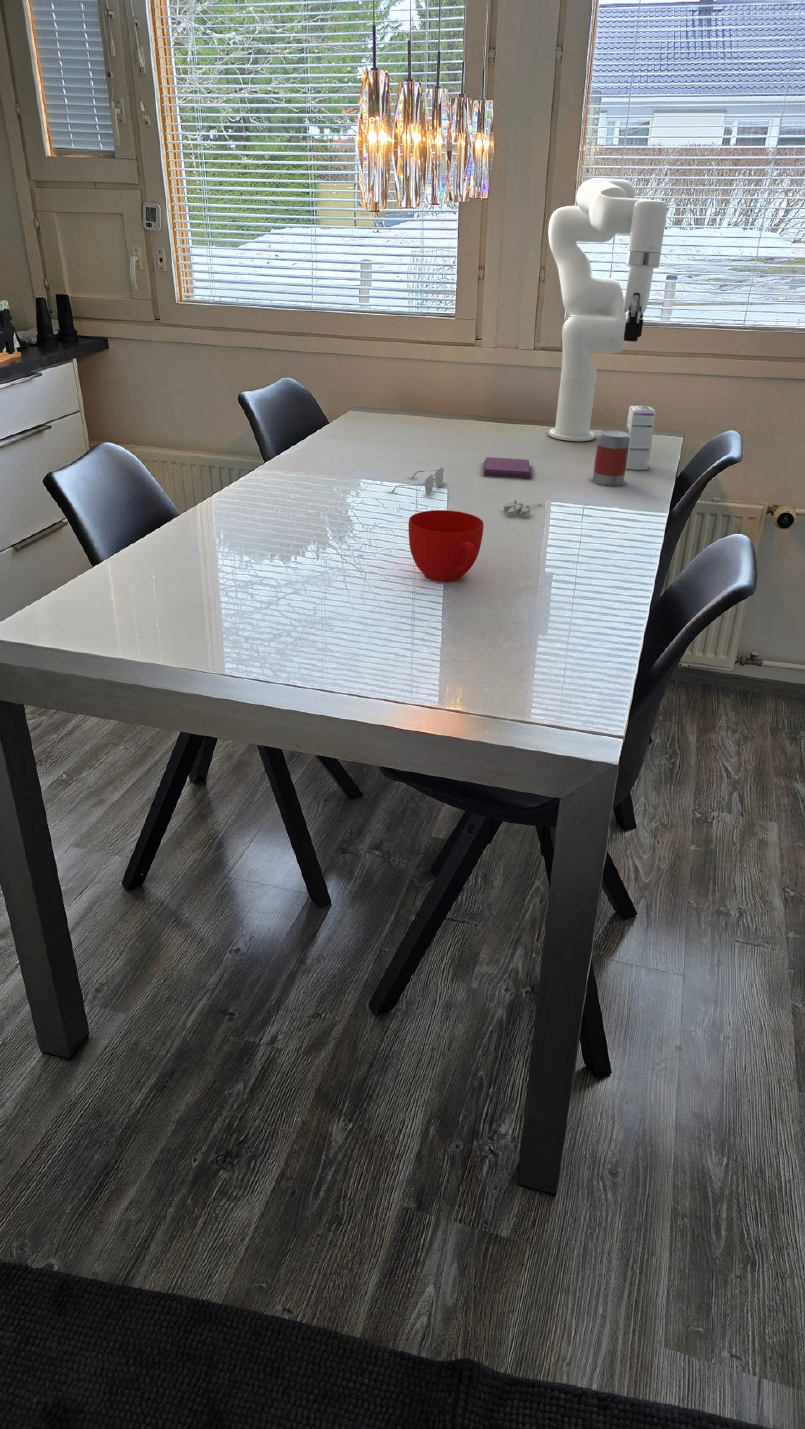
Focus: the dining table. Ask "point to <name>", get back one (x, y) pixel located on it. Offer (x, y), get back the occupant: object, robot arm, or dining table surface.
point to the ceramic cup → (444, 543)
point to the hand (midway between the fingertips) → (632, 338)
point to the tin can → (611, 458)
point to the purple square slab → (507, 467)
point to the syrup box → (639, 436)
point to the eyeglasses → (430, 481)
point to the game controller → (517, 508)
